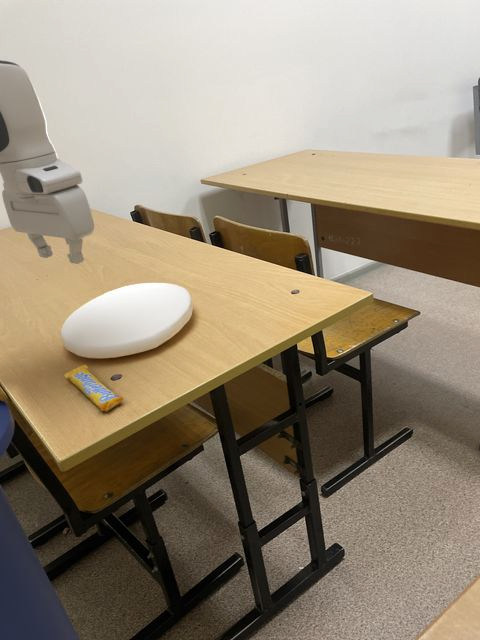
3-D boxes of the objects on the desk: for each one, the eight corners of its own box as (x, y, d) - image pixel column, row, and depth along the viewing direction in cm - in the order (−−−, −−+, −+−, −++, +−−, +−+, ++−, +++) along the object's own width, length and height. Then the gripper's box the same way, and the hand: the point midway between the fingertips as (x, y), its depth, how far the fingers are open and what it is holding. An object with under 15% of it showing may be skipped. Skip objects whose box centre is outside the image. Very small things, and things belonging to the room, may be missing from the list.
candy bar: (127, 405, 85) (124, 395, 84) (103, 417, 83) (100, 407, 82) (87, 370, 97) (84, 361, 96) (65, 380, 95) (62, 371, 94)
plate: (166, 339, 93) (31, 348, 98) (176, 369, 96) (45, 375, 102) (202, 265, 115) (90, 276, 120) (208, 291, 119) (100, 300, 124)
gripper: (-17, 180, 87) (14, 259, 94) (50, 182, 75) (80, 273, 82) (18, 170, 91) (45, 247, 98) (86, 171, 79) (112, 259, 86)
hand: (61, 259), depth 90 cm, fingers open, 8 cm apart
